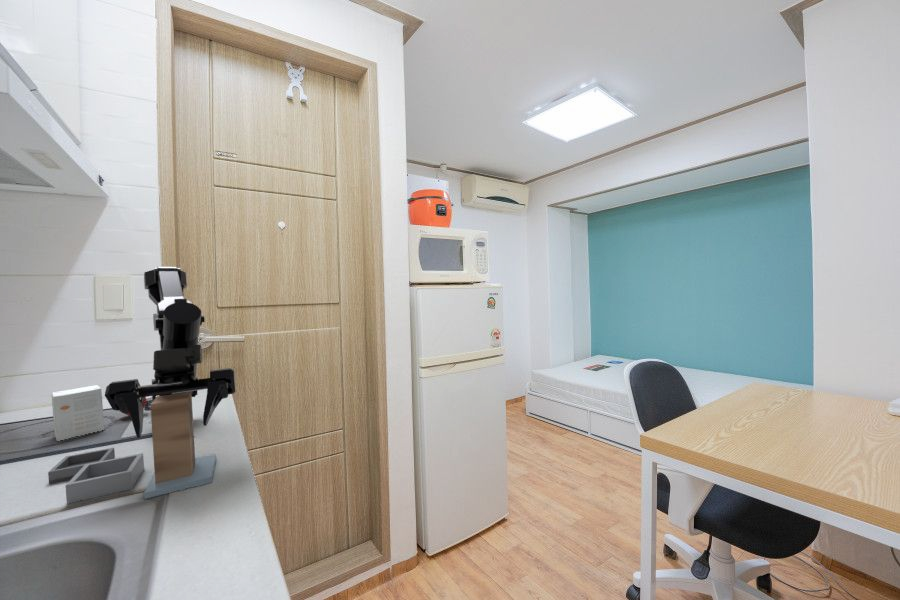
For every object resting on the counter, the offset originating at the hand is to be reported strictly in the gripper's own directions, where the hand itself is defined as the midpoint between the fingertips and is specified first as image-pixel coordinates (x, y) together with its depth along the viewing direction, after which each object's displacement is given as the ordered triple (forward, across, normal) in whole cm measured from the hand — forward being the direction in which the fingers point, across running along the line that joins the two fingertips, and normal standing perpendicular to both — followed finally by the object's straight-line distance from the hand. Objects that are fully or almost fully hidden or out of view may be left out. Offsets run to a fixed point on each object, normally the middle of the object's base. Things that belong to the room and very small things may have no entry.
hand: (172, 430), depth 62 cm
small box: (-22, -24, +35) cm, 48 cm away
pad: (+6, +1, +7) cm, 9 cm away
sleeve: (+3, -10, +10) cm, 14 cm away
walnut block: (+5, 0, +6) cm, 8 cm away
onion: (-27, -16, +41) cm, 52 cm away
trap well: (-4, -16, +17) cm, 24 cm away
